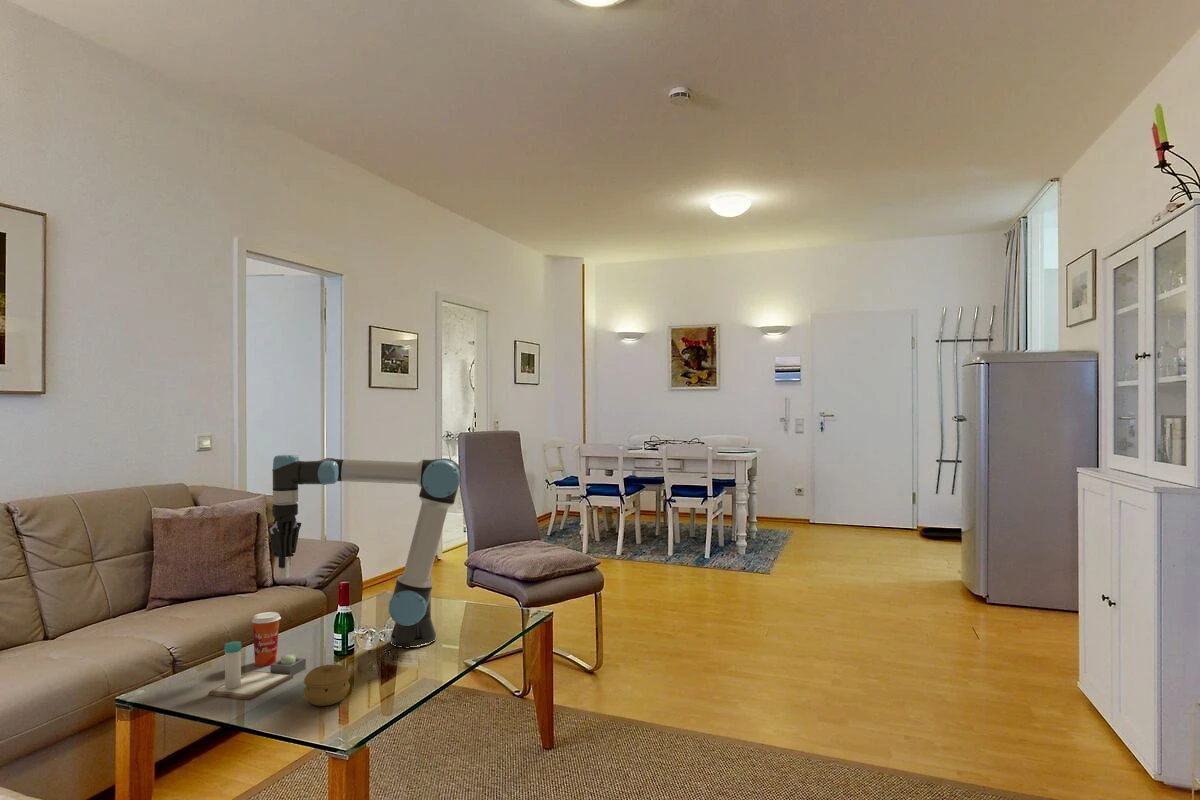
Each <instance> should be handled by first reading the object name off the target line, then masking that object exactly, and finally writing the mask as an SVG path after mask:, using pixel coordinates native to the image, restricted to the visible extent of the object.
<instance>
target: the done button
mask: <svg viewBox="0 0 1200 800" xmlns="http://www.w3.org/2000/svg"><path fill="white" fill-rule="evenodd" d="M280 658H281V659H280V660H281V664H285V665H290V664H293V663H295V660H296V658H297V657H296V654H293V653H292V654H285V655H282V656H280Z"/></svg>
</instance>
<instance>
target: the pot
mask: <svg viewBox="0 0 1200 800" xmlns="http://www.w3.org/2000/svg"><path fill="white" fill-rule="evenodd" d="M350 677H351V673H350V671H349V670H348V669H347V668H346V667H344V666H342V665H341V664H324V665H320V666H317V667H315V668H313V669H312V670H310V671H309V672H308V673H307V674H306V675H305V677H304V679H303V680H304V681H303V683H304V685H305V687H304V689H303V696H304V697H305V699H306V700H307V701H308V702H309V703H310V704H312V705H313V706H320V707H325V706H330V705H334V704H335V705H336V704H338V703H339V702H341V701H342V700H344V698H345V697H346V696H347V694H348V693H349V691H350V687H351V683H350V682H349V679H350Z"/></svg>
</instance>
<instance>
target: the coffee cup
mask: <svg viewBox="0 0 1200 800" xmlns="http://www.w3.org/2000/svg"><path fill="white" fill-rule="evenodd" d="M280 620H282V617H281V615H280V613H279V612H276V611H267V612H260V613H257V614H255V615H254V616H253V617H252V619H251V623H252V631H253V648H254V649H253V651H254V652H253V653H254V654H253V655H254V664H255V666H257V667H267V666H270V664H272V663H274V662H277V656H278V641H279V627H280Z"/></svg>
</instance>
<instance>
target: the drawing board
mask: <svg viewBox="0 0 1200 800" xmlns="http://www.w3.org/2000/svg"><path fill="white" fill-rule="evenodd" d="M293 678H294V675H288V674H279V673H271V672H269V671H259V670H252V671H250V672H248V673H246V674H244V675H241V686H239V687H237V688H233V689H226V688H225V683H224V684H222V685H220V686H218V687H216V688H214V689H211V690H210V691H208V695H209V696H217V697H224V698H231V699H239V700H247V701H251V700H254V699H256V698H257V697H259V696H261V695H263V694H265V693H267V692H269V691H271V690H272V689H275V688H277V687H278V686H280V685H281V684H284V683H286V682H287V681H289V680H292V679H293Z"/></svg>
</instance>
